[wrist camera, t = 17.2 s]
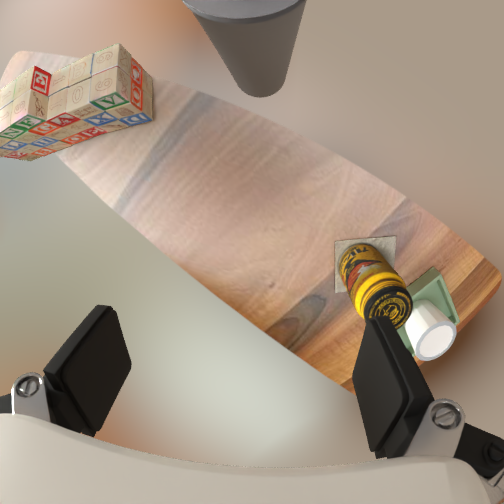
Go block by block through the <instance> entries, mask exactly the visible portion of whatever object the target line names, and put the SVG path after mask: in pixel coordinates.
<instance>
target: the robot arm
mask: <svg viewBox="0 0 504 504" xmlns="http://www.w3.org/2000/svg"><path fill="white" fill-rule="evenodd" d="M130 370H131V359H130V357H129V353H128V350H127V347H126V344H125V340H124V337H123V334H122V330H121V327H120V323H119V320H118V316H117V313H116V311H115V310H113V308H112V307H111V306H105V305H97V306H95V308H94V309H93V310H92V311H91V312H90V313H89V314H88V316H87V317H86V318H85V319H84V320H83V322H82V323H81V324H80V325H79V326H78V327H77V328H76V330H75V331H74V332H73V333H72V334H71V336H70V337H69V338H68V339H67V340H66V342H65V343H64V344H63V345H62V347H61V348H60V349H59V351H58V352H57V353H56V354H55V355H54V357H53V358H52V359H51V360H50V362H49V363H48V364H47V365H46V367H45V368H44V370H43V371H44V373H45V375H44V376H43V377H42V376H41V375H40V374H38V373H33V372H30V373H26V374H23V375H21V376H20V377H18V378H17V380H16V381H15V382H14V384H13V387H12V393H10V394H8V395H5V396H1V397H0V504H504V440H503V439H501V438H500V437H497V436H495V435H493V434H490V433H488V432H485V431H483V430H481V429H478V428H476V427H474V426H471V425H469V424H467V423H465V413H464V411H463V409H462V407H461V406H460V405H459V404H457V403H456V402H454V401H452V400H449V399H438V400H434V398H433V395H432V393H431V391H430V389H429V387H428V385H427V383H426V381H425V379H424V377H423V375H422V373H421V371H420V369H419V367H418V365H417V363H416V362H415V360H414V358H413V356H412V354H411V352H410V351H409V350H408V349H407V348H406V346H405V344H404V343H403V341H402V339H401V337H400V335H399V333H398V332H397V330H396V328H395V326H394V324H393V323H392V321H391V319H390V317H389V316H373V317H372V319H371V320H368V321H367V323H366V327H365V331H364V335H363V339H362V342H361V346H360V350H359V353H358V357H357V360H356V364H355V367H354V370H353V375H352V380H353V384H354V388H355V392H356V396H357V399H358V403H359V407H360V411H361V415H362V419H363V423H364V427H365V431H366V436H367V439H368V444H369V448H370V451H371V452H374V451H375V456H376V459H378V458H384V457H387V459H383V460H376V461H369V462H363V463H354V464H344V465H332V466H320V467H298V468H263V467H241V466H228V465H218V464H208V463H200V462H193V461H186V460H181V459H174V458H169V457H164V456H159V455H154V454H150V453H145V452H141V451H137V450H132V449H129V448H125V447H121V446H118V445H114V444H111V443H107V442H104V441H101V440H97V439H95V438H92V437H94V436H95V434H96V431H99V430H100V429H101V428H102V425H103V423H104V421H105V419H106V417H107V415H108V413H109V411H110V409H111V407H112V405H113V403H114V401H115V399H116V397H117V395H118V393H119V391H120V389H121V387H122V385H123V383H124V381H125V379H126V377H127V376H128V374H129V372H130ZM81 432H82V434H80V433H81ZM83 434H85V435H89V436H91V437H89V436H85V435H83Z"/></svg>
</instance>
